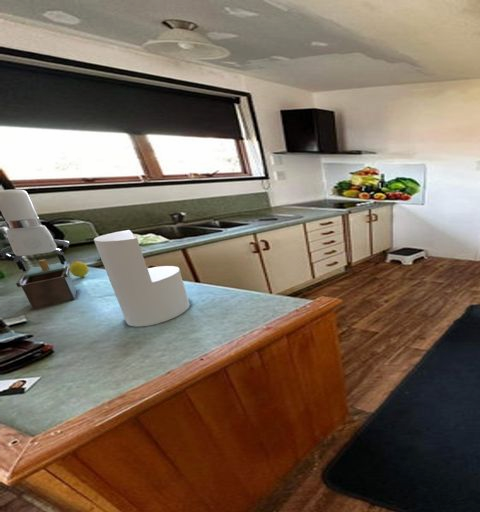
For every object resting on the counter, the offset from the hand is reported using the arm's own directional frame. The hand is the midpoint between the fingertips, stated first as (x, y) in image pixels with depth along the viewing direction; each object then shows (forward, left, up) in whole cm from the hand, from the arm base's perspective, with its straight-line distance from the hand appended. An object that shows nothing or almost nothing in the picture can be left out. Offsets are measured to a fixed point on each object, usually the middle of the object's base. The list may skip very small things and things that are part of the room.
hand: (45, 267), depth 106 cm
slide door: (0, +3, -2) cm, 3 cm away
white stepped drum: (+27, -51, -12) cm, 58 cm away
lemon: (+7, +18, -12) cm, 23 cm away
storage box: (0, -7, -12) cm, 14 cm away
